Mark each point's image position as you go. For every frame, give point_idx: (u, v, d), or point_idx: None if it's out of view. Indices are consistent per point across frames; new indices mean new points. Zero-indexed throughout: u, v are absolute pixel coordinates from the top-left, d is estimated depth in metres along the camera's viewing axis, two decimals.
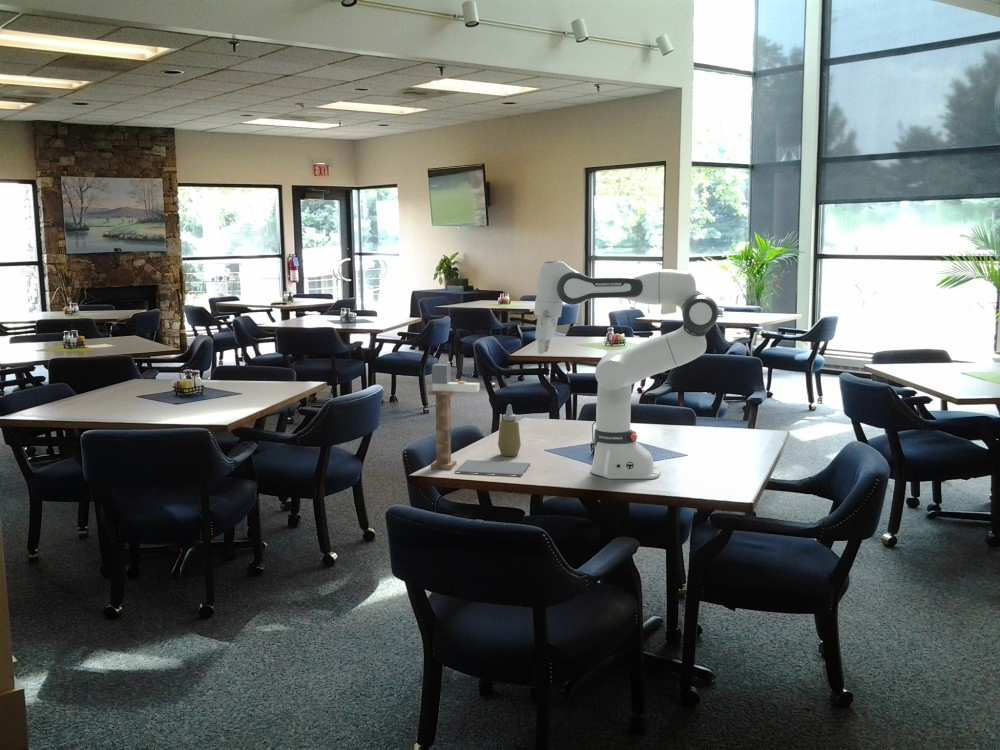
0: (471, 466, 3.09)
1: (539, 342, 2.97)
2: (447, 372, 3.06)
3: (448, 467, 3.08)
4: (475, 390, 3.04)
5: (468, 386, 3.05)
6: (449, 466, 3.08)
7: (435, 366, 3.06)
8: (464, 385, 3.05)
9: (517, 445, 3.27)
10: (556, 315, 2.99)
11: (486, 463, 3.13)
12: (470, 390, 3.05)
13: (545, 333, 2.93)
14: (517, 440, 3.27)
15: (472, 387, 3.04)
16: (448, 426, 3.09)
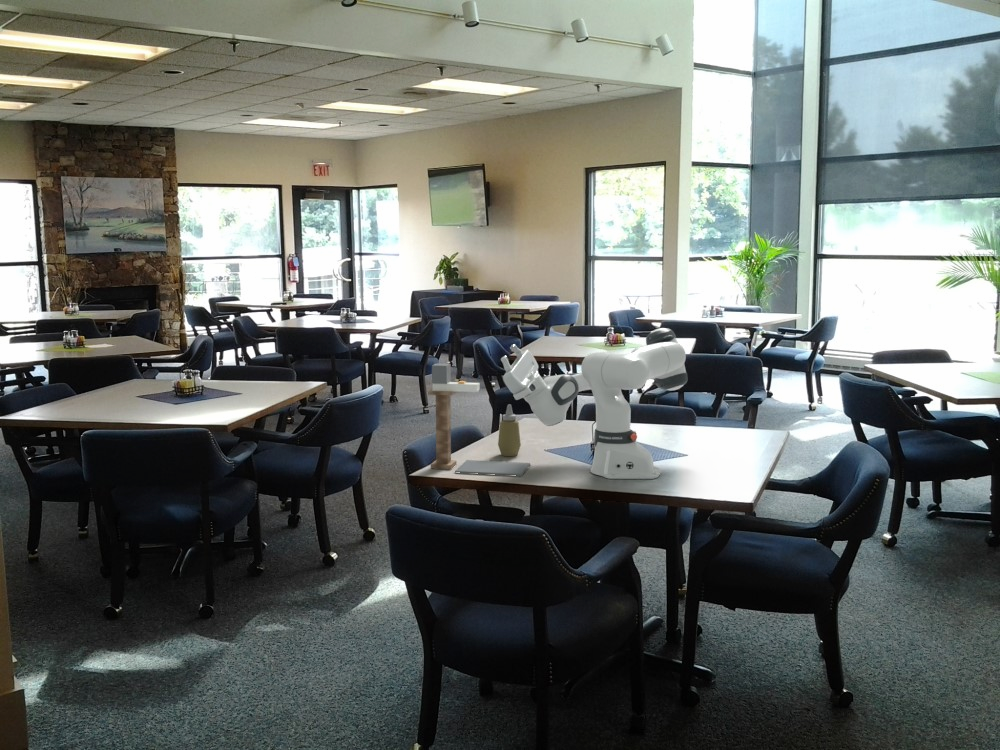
0: (471, 466, 3.09)
1: None
2: (447, 372, 3.06)
3: (448, 467, 3.08)
4: (475, 390, 3.04)
5: (468, 386, 3.05)
6: (449, 466, 3.08)
7: (435, 366, 3.06)
8: (464, 385, 3.05)
9: (517, 445, 3.27)
10: None
11: (486, 463, 3.13)
12: (470, 390, 3.05)
13: None
14: (517, 440, 3.27)
15: (472, 387, 3.04)
16: (448, 426, 3.09)
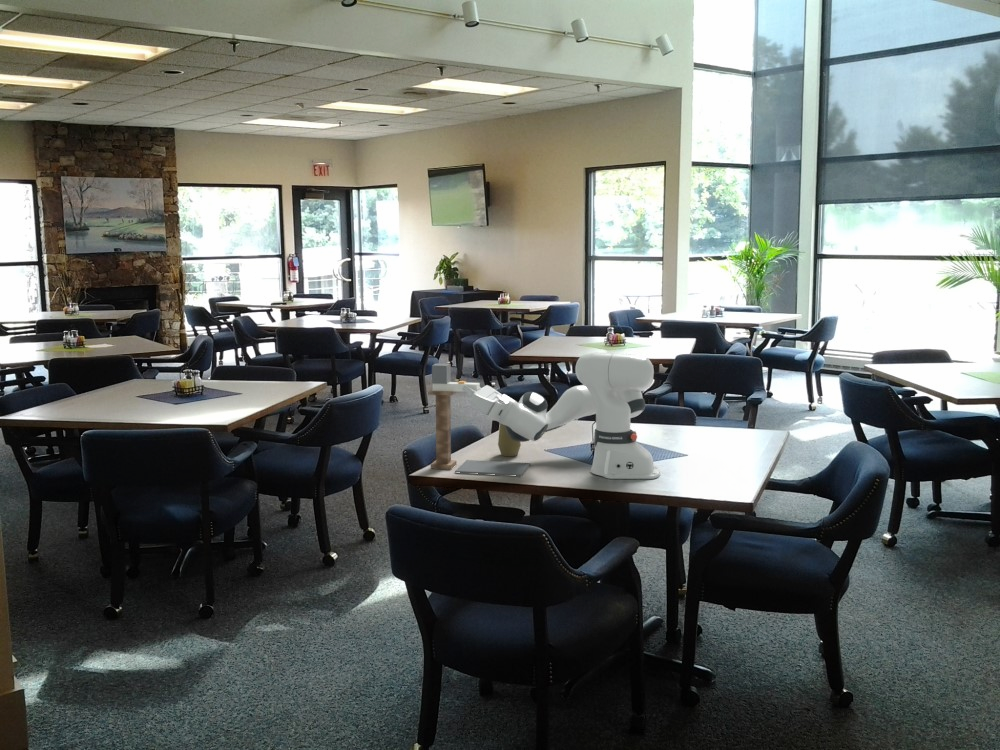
0: (471, 466, 3.09)
1: None
2: (447, 372, 3.06)
3: (448, 467, 3.08)
4: (475, 390, 3.04)
5: None
6: (449, 466, 3.08)
7: (435, 366, 3.06)
8: (464, 385, 3.05)
9: (517, 445, 3.27)
10: None
11: (486, 463, 3.13)
12: None
13: None
14: None
15: (472, 387, 3.04)
16: (448, 426, 3.09)
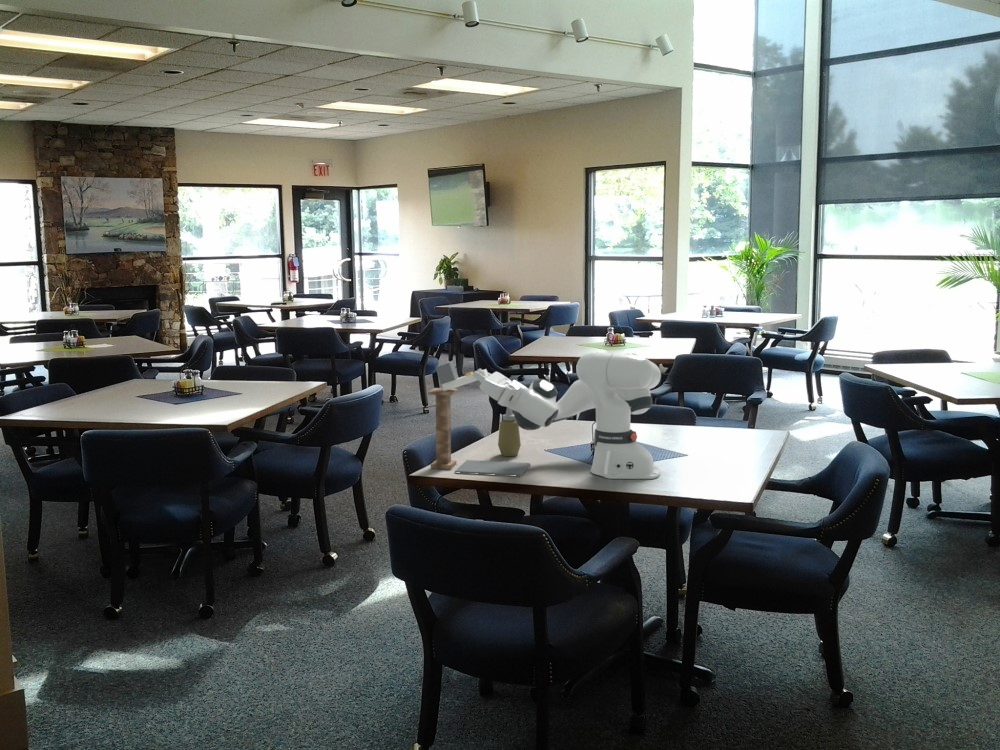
0: (471, 466, 3.09)
1: None
2: (451, 369, 3.05)
3: (448, 467, 3.08)
4: None
5: None
6: (449, 466, 3.08)
7: (438, 367, 3.05)
8: (472, 375, 3.03)
9: (517, 445, 3.27)
10: None
11: (486, 463, 3.13)
12: None
13: None
14: (517, 440, 3.27)
15: None
16: (448, 426, 3.09)
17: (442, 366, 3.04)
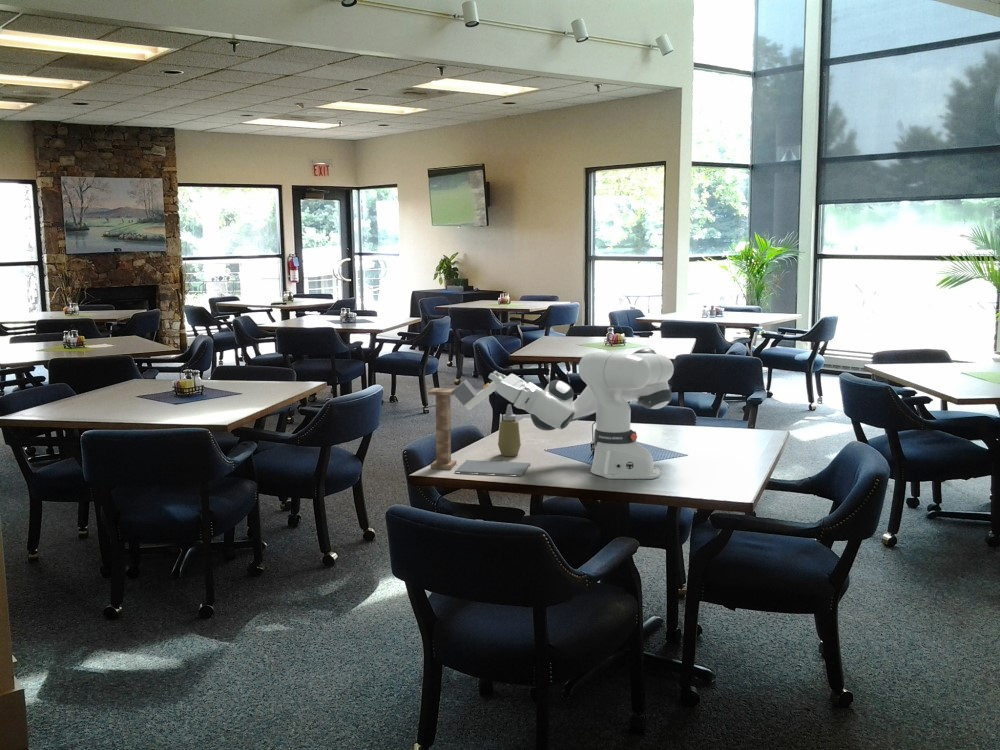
0: (471, 466, 3.09)
1: None
2: (468, 387, 3.04)
3: (448, 467, 3.08)
4: None
5: (493, 384, 3.03)
6: (449, 466, 3.08)
7: (454, 390, 3.05)
8: (489, 386, 3.03)
9: (517, 445, 3.27)
10: None
11: (486, 463, 3.13)
12: None
13: None
14: (517, 440, 3.27)
15: None
16: (448, 426, 3.09)
17: (458, 388, 3.04)
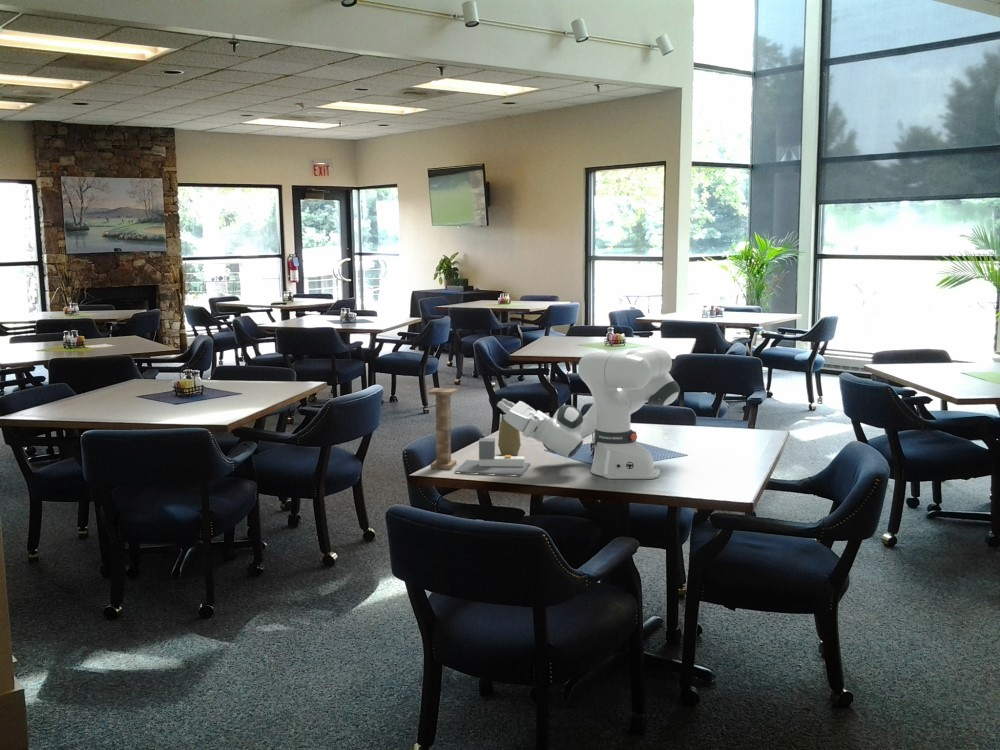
0: (471, 466, 3.09)
1: None
2: (494, 448, 3.09)
3: (448, 467, 3.08)
4: (522, 464, 3.09)
5: (515, 461, 3.09)
6: (449, 466, 3.08)
7: (482, 442, 3.08)
8: (511, 460, 3.09)
9: (517, 445, 3.27)
10: None
11: None
12: (517, 464, 3.09)
13: None
14: (517, 440, 3.27)
15: (520, 461, 3.09)
16: (448, 426, 3.09)
17: (486, 443, 3.08)
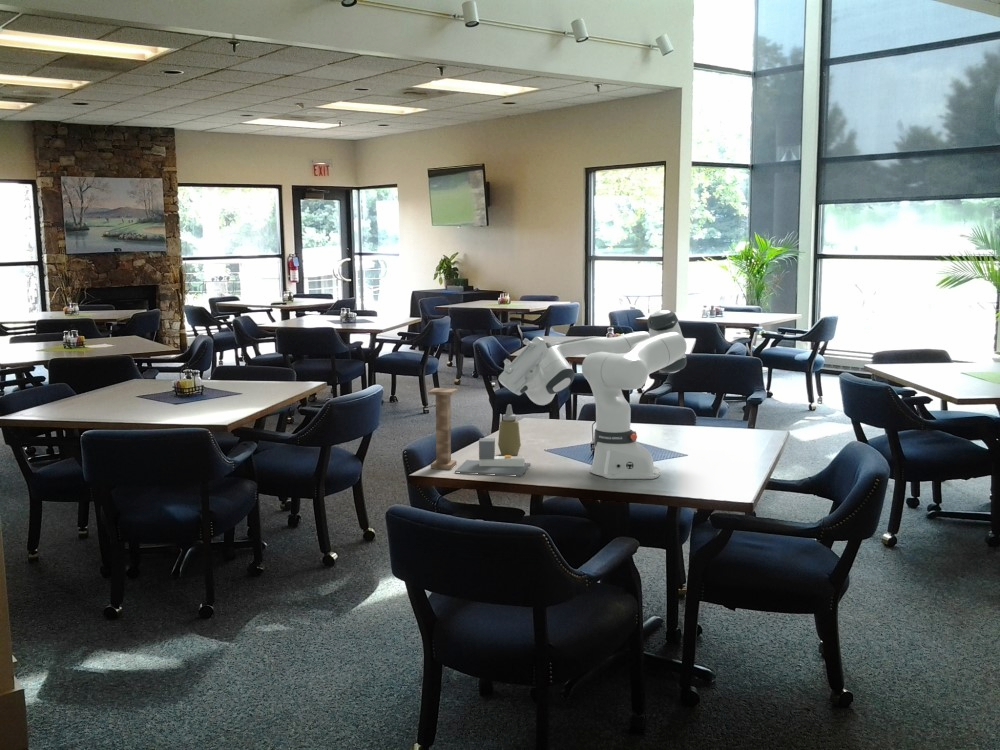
0: (471, 466, 3.09)
1: (530, 341, 3.09)
2: (494, 448, 3.09)
3: (448, 467, 3.08)
4: (522, 464, 3.09)
5: (515, 461, 3.09)
6: (449, 466, 3.08)
7: (482, 442, 3.08)
8: (511, 460, 3.09)
9: (517, 445, 3.27)
10: (540, 369, 3.13)
11: None
12: (517, 464, 3.09)
13: (544, 342, 3.11)
14: (517, 440, 3.27)
15: (520, 461, 3.09)
16: (448, 426, 3.09)
17: (486, 443, 3.08)
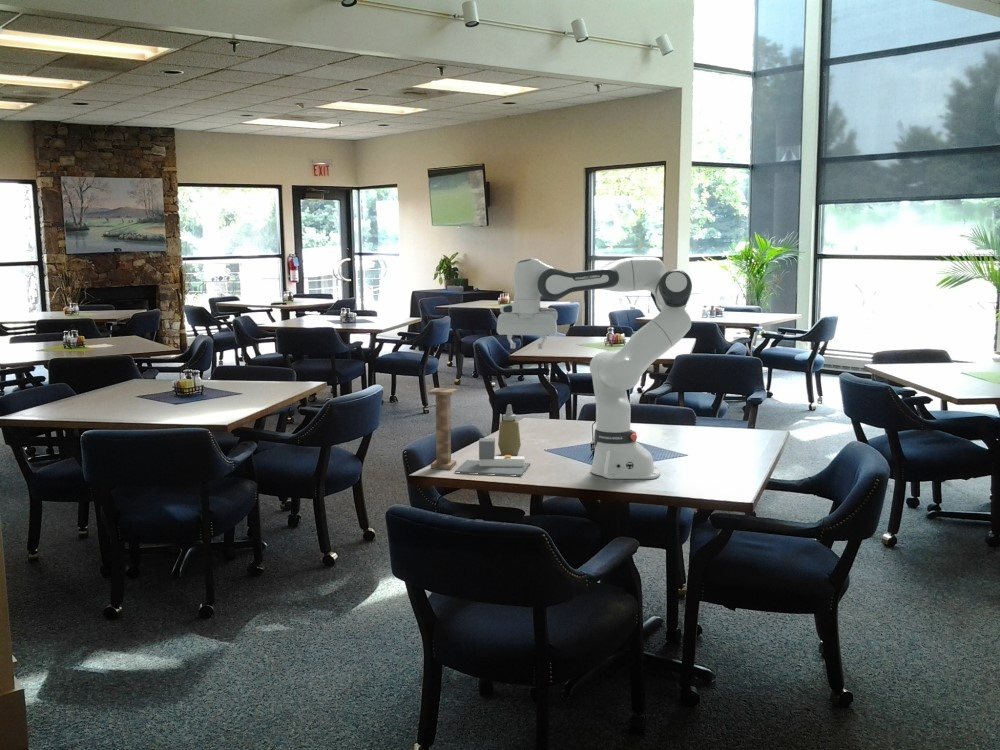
0: (471, 466, 3.09)
1: (545, 338, 3.11)
2: (494, 448, 3.09)
3: (448, 467, 3.08)
4: (522, 464, 3.09)
5: (515, 461, 3.09)
6: (449, 466, 3.08)
7: (482, 442, 3.08)
8: (511, 460, 3.09)
9: (517, 445, 3.27)
10: None
11: None
12: (517, 464, 3.09)
13: None
14: (517, 440, 3.27)
15: (520, 461, 3.09)
16: (448, 426, 3.09)
17: (486, 443, 3.08)
